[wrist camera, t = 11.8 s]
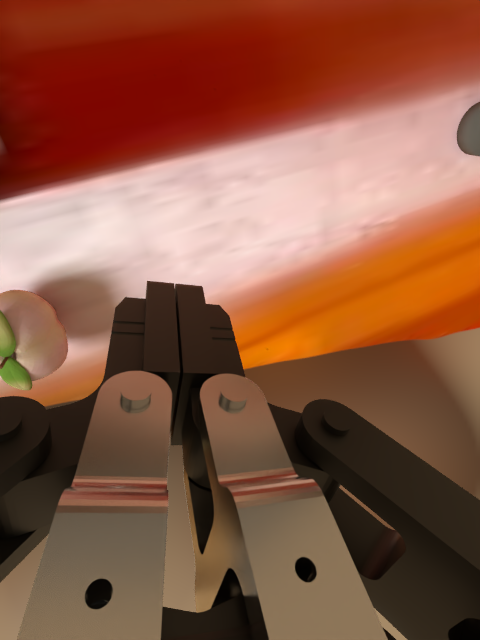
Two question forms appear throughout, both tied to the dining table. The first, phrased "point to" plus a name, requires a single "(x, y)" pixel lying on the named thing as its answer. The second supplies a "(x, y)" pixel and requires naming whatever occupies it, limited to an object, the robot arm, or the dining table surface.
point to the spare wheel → (470, 131)
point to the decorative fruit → (29, 339)
